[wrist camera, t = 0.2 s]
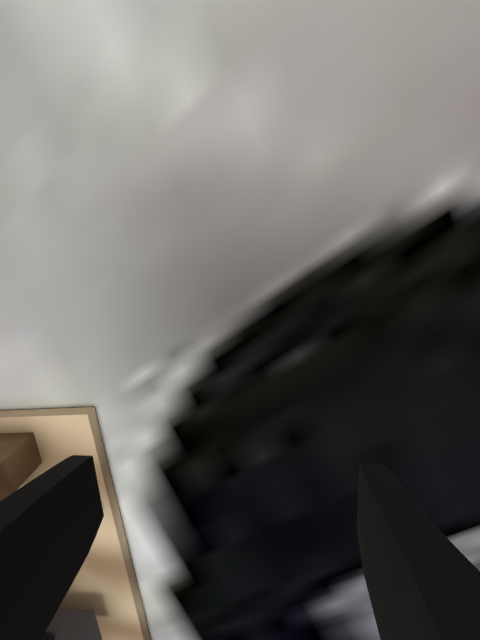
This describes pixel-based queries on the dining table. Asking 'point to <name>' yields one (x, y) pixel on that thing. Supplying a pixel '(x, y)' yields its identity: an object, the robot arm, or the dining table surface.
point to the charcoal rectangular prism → (73, 626)
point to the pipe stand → (110, 542)
